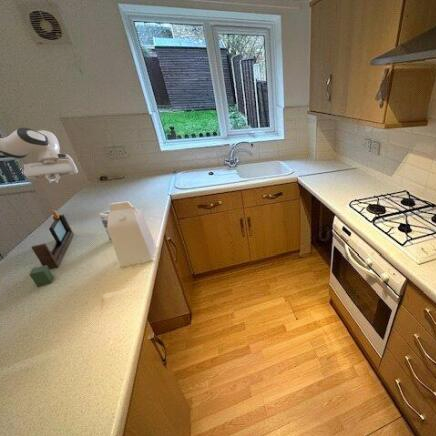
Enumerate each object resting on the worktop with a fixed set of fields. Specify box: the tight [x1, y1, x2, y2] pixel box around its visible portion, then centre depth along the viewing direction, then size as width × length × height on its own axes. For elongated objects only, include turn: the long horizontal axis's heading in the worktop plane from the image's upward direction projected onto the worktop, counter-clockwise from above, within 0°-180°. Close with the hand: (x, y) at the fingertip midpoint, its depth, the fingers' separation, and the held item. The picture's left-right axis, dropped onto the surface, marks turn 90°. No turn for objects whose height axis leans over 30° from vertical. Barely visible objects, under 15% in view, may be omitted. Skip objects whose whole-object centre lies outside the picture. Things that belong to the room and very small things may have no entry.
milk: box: [107, 200, 157, 268], centre depth 100 cm, size 12×12×26 cm
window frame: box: [31, 213, 75, 271], centre depth 108 cm, size 31×4×12 cm, turn 30°
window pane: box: [48, 209, 67, 246], centre depth 112 cm, size 13×1×13 cm, turn 30°
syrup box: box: [99, 209, 112, 242], centre depth 116 cm, size 6×6×14 cm
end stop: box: [28, 265, 55, 287], centre depth 91 cm, size 4×4×6 cm
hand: (53, 183), depth 122 cm, fingers closed
